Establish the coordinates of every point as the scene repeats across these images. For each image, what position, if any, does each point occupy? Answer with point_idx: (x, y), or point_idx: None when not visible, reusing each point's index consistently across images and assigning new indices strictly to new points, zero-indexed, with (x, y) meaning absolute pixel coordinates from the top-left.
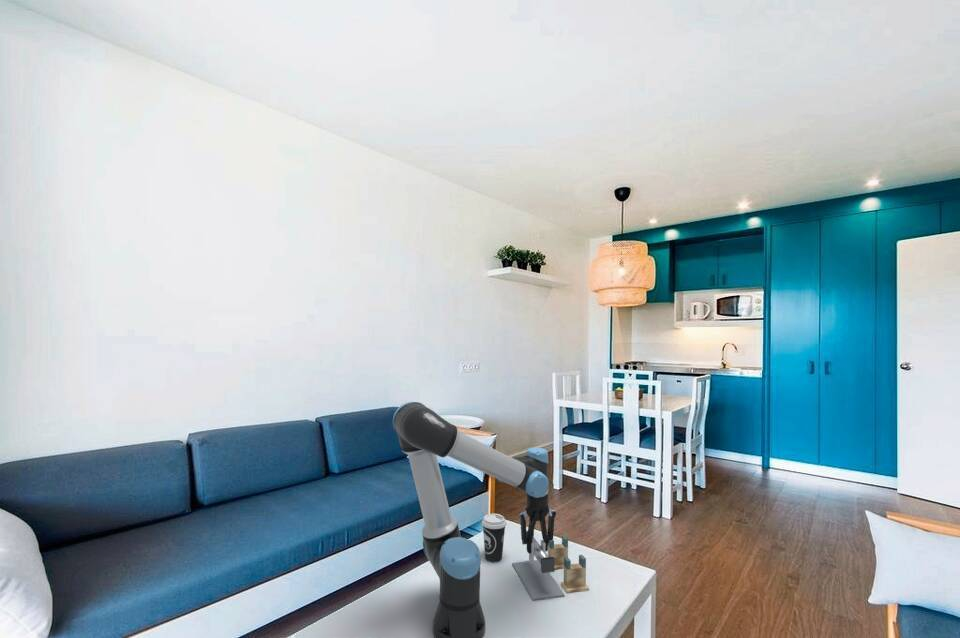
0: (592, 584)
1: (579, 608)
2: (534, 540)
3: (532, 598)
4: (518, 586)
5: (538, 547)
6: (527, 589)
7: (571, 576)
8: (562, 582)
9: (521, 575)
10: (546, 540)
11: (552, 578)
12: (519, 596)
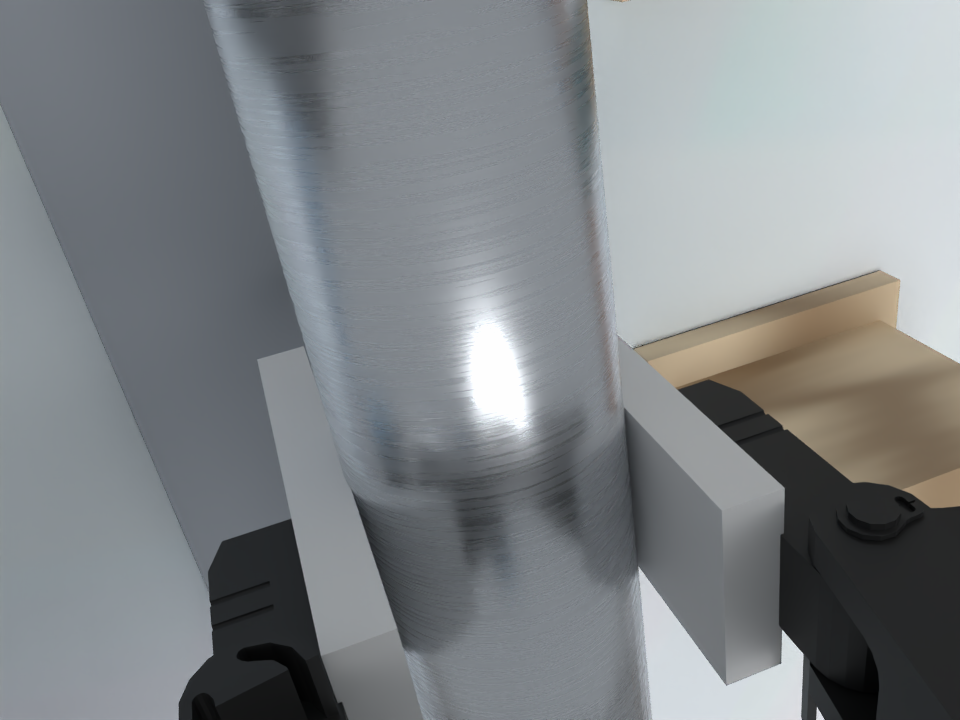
0: (950, 308)
1: (673, 666)
2: (527, 345)
3: None
4: (56, 455)
5: (548, 702)
6: (192, 548)
7: None
8: (666, 366)
9: (96, 233)
10: (864, 703)
11: None
12: (80, 640)
